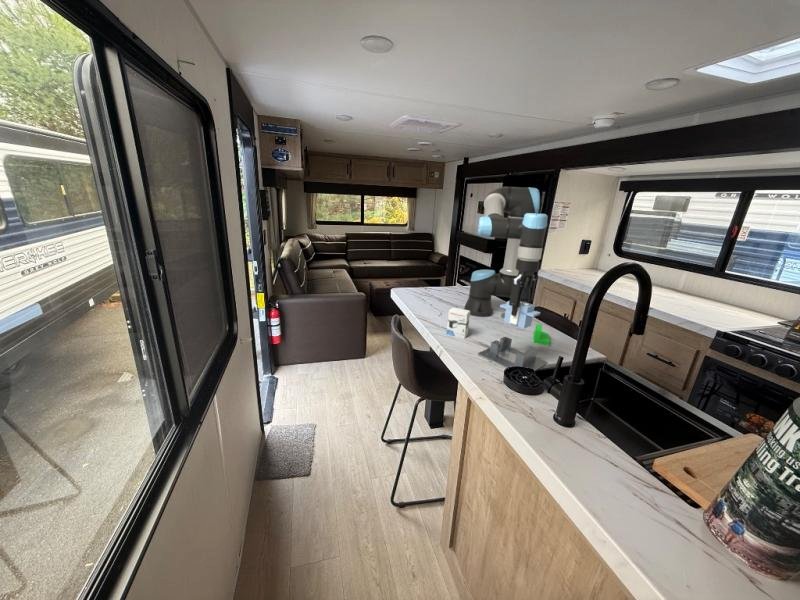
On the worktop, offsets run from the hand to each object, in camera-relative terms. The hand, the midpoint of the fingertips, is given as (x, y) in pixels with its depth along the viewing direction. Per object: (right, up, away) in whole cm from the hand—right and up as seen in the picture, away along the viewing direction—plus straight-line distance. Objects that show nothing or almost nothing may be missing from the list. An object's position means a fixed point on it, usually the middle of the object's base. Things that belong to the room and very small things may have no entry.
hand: (517, 321), depth 113 cm
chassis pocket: (-1, -14, +4) cm, 15 cm away
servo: (0, -1, 0) cm, 1 cm away
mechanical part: (+20, -10, +24) cm, 33 cm away
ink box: (-18, -8, +24) cm, 31 cm away
